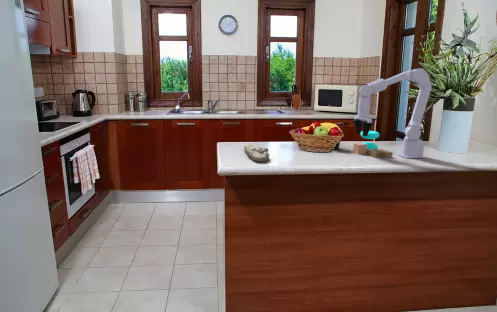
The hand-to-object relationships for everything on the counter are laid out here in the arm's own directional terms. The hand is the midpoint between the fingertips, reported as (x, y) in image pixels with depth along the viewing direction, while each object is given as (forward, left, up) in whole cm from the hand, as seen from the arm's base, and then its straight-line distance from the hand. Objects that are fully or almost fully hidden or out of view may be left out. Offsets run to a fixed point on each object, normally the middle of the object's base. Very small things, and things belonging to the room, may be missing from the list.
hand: (361, 134), depth 186 cm
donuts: (-10, -9, -10) cm, 17 cm away
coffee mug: (+8, -13, -10) cm, 18 cm away
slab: (-7, +7, -10) cm, 14 cm away
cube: (0, 0, -10) cm, 10 cm away
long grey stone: (+56, -2, -10) cm, 57 cm away
